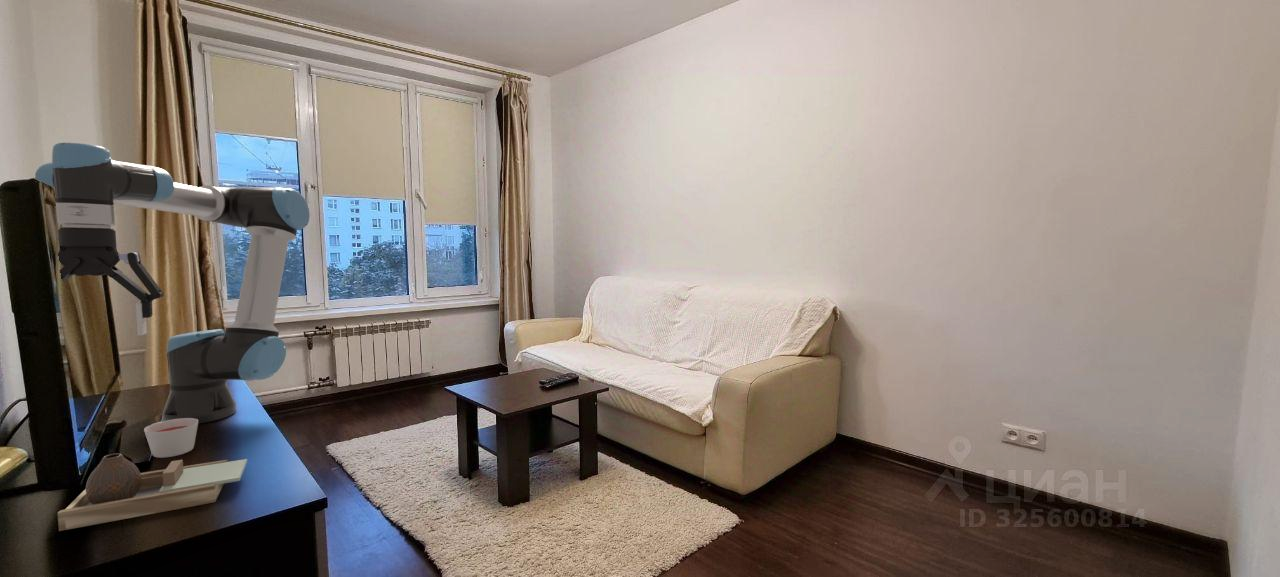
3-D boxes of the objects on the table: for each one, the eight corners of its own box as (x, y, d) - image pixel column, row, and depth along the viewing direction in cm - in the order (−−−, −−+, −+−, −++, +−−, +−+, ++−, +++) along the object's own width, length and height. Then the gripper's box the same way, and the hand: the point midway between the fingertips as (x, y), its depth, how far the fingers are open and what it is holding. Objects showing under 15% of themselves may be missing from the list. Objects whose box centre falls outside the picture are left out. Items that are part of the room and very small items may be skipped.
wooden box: (91, 496, 95) (90, 480, 95) (228, 474, 105) (227, 459, 105) (58, 531, 84) (57, 513, 84) (215, 502, 94) (214, 485, 94)
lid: (173, 473, 100) (172, 457, 99) (247, 461, 105) (246, 447, 105) (159, 494, 91) (158, 477, 91) (239, 480, 97) (238, 464, 97)
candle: (137, 463, 110) (135, 434, 109) (156, 447, 118) (154, 420, 117) (191, 456, 113) (189, 428, 113) (205, 442, 122) (204, 416, 121)
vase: (107, 515, 88) (103, 465, 87) (76, 510, 90) (72, 461, 89) (152, 496, 95) (149, 450, 94) (123, 491, 96) (120, 446, 96)
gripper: (-24, 224, 88) (-13, 345, 90) (168, 228, 101) (174, 335, 103) (0, 225, 95) (10, 338, 97) (178, 229, 107) (184, 329, 109)
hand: (95, 336), depth 100 cm, fingers open, 13 cm apart
